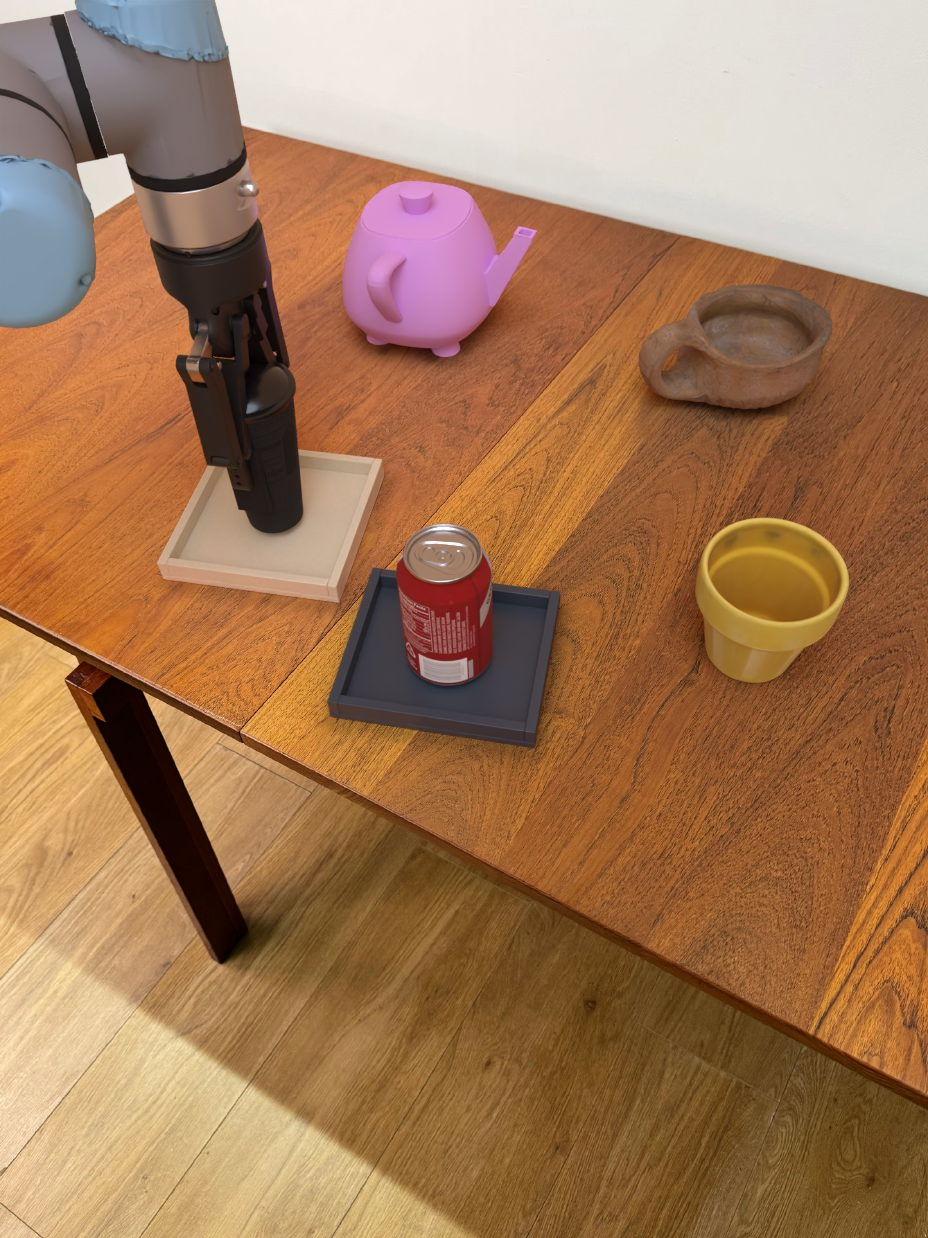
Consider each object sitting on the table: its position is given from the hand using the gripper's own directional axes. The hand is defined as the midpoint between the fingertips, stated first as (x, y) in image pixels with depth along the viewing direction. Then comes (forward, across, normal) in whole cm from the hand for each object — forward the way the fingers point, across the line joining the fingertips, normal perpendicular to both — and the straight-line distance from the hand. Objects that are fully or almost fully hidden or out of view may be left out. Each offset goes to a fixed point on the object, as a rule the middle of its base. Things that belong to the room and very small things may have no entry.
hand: (267, 481), depth 84 cm
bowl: (+6, +25, -38) cm, 46 cm away
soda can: (+5, -12, -18) cm, 22 cm away
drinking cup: (+4, 0, 0) cm, 4 cm away
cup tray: (+5, 0, 0) cm, 5 cm away
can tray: (+5, -12, -18) cm, 22 cm away
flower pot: (+6, -7, -41) cm, 42 cm away
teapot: (+6, +30, -8) cm, 32 cm away
